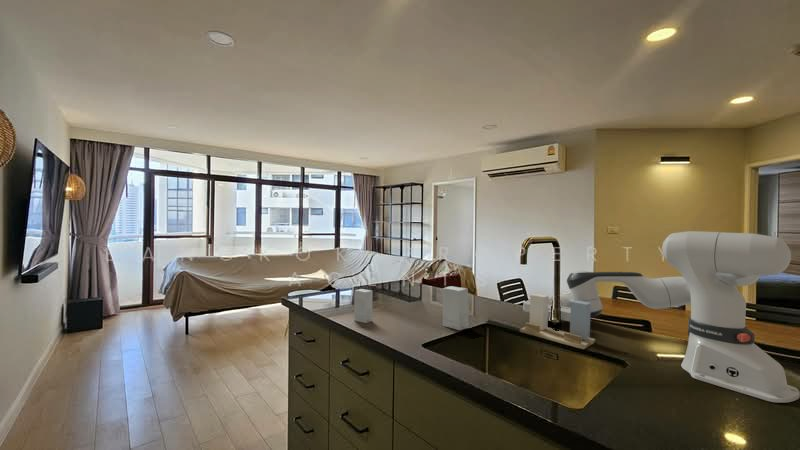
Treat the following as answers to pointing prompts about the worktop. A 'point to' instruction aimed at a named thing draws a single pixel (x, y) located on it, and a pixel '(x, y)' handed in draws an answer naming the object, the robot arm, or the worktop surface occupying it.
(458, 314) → the skincare box
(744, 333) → the robot arm
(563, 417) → the worktop surface
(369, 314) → the skincare box
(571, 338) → the switch base
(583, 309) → the slate blue key
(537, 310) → the ivory key
